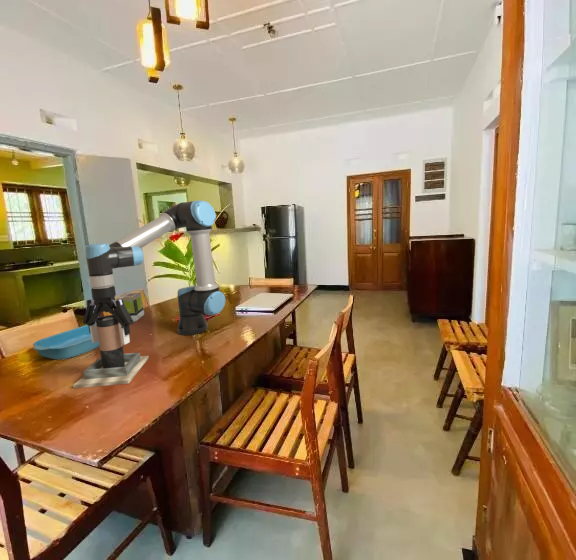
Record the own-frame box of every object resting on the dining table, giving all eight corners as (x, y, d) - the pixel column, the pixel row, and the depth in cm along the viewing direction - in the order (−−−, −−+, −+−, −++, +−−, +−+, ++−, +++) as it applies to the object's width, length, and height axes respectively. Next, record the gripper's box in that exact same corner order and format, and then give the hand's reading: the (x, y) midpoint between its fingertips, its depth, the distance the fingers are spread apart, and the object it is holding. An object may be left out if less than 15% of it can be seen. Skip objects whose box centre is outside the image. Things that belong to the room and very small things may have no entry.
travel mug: (130, 365, 124) (123, 315, 121) (113, 374, 117) (106, 321, 114) (115, 363, 127) (108, 314, 123) (98, 372, 120) (90, 320, 116)
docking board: (148, 358, 134) (147, 348, 133) (128, 383, 112) (127, 372, 112) (102, 362, 132) (101, 352, 131) (73, 388, 110) (71, 376, 110)
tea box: (128, 315, 203) (125, 292, 201) (144, 314, 204) (142, 291, 202) (118, 322, 189) (115, 298, 186) (136, 321, 190) (133, 297, 187)
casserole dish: (56, 367, 129) (53, 350, 128) (23, 360, 138) (20, 344, 137) (132, 337, 163) (130, 323, 162) (101, 333, 172) (100, 320, 170)
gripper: (139, 284, 117) (146, 340, 121) (83, 284, 123) (91, 337, 127) (124, 288, 110) (132, 347, 114) (65, 288, 116) (75, 344, 120)
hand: (110, 342), depth 120 cm, fingers open, 13 cm apart
